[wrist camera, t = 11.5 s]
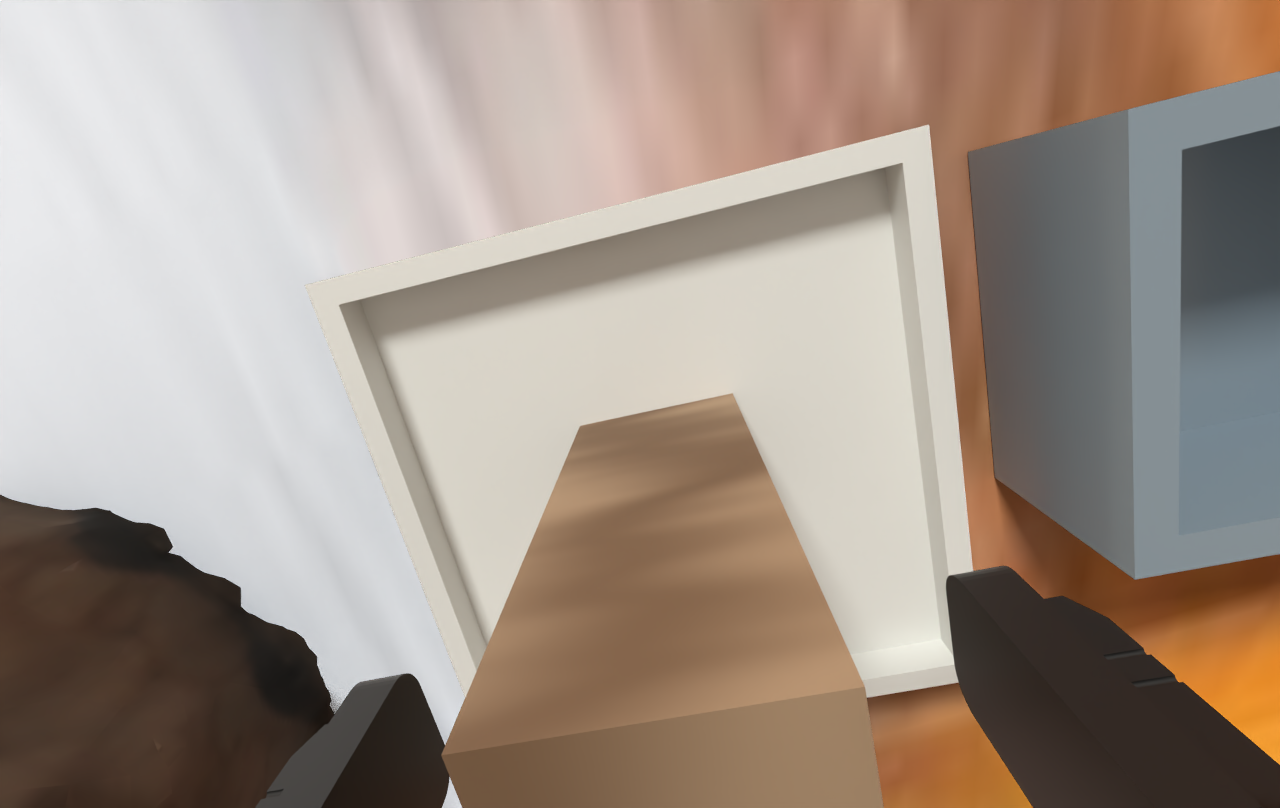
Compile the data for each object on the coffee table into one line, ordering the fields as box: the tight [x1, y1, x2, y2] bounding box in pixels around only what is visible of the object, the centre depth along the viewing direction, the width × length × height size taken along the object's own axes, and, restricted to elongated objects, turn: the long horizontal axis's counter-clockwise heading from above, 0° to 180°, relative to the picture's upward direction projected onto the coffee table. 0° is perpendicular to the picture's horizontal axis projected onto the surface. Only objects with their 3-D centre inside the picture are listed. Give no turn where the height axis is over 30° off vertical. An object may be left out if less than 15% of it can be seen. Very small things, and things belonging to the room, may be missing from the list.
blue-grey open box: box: [968, 71, 1280, 580], centre depth 12 cm, size 9×9×5 cm
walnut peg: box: [441, 393, 884, 808], centre depth 11 cm, size 4×4×10 cm
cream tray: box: [305, 125, 973, 698], centre depth 16 cm, size 14×14×2 cm
